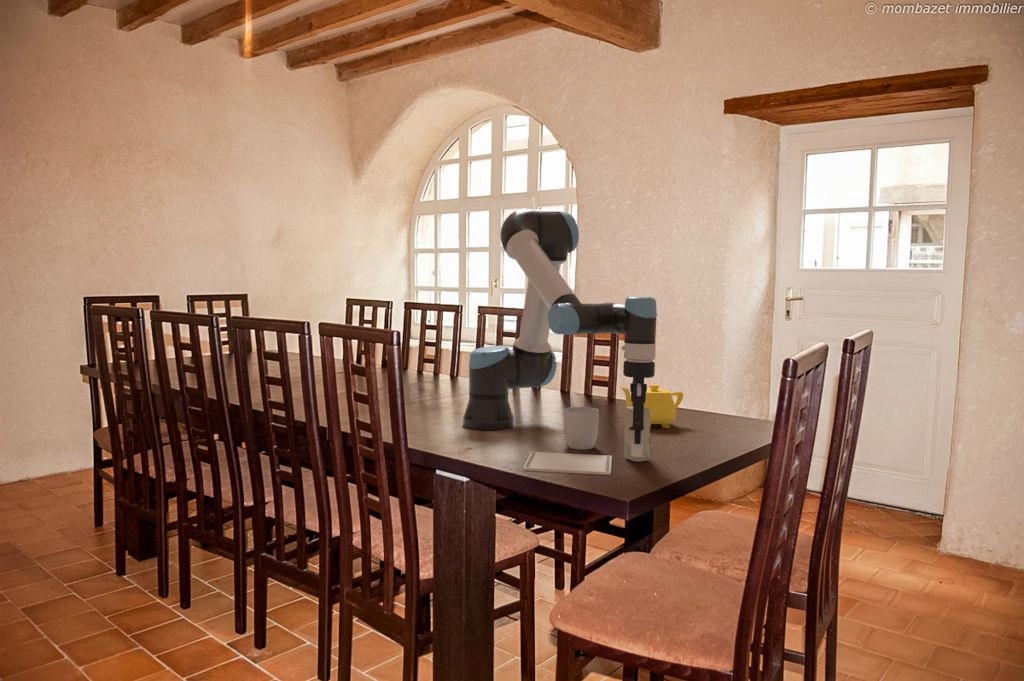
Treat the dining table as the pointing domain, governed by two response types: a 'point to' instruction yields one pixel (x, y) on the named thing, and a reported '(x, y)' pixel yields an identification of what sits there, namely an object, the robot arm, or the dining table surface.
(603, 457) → the white tray
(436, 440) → the dining table surface
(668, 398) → the teapot
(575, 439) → the mug
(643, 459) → the box
